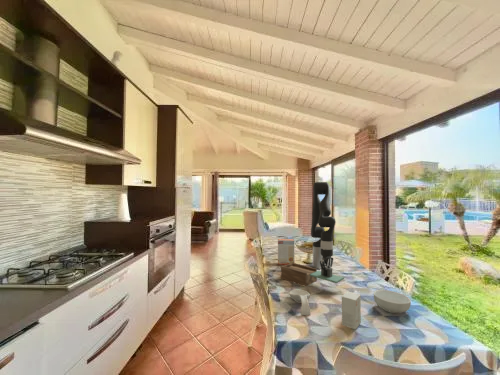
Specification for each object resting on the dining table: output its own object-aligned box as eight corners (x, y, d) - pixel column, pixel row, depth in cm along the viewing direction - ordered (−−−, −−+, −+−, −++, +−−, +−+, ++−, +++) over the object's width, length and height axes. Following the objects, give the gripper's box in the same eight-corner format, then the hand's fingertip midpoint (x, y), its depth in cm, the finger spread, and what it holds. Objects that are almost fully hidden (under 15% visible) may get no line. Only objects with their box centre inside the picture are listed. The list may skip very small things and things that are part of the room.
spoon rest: (287, 295, 141) (287, 283, 141) (307, 295, 141) (307, 283, 141) (294, 316, 117) (294, 301, 118) (318, 316, 117) (318, 301, 118)
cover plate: (318, 272, 161) (318, 263, 162) (344, 279, 149) (344, 269, 149) (309, 275, 154) (309, 266, 154) (336, 283, 141) (336, 273, 142)
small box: (347, 317, 115) (347, 290, 116) (361, 322, 111) (361, 294, 112) (341, 324, 109) (341, 296, 110) (355, 330, 105) (355, 300, 106)
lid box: (292, 273, 178) (292, 262, 179) (316, 281, 164) (316, 268, 164) (281, 278, 169) (281, 266, 169) (305, 286, 154) (305, 273, 154)
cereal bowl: (411, 321, 113) (411, 306, 113) (372, 312, 121) (372, 298, 122) (410, 307, 127) (409, 293, 127) (375, 299, 136) (374, 287, 136)
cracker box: (293, 263, 206) (294, 239, 207) (294, 265, 200) (294, 240, 201) (277, 262, 207) (277, 238, 208) (277, 264, 201) (277, 239, 202)
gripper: (326, 245, 159) (326, 271, 159) (315, 248, 150) (315, 276, 149) (337, 247, 154) (337, 273, 154) (326, 250, 144) (326, 279, 144)
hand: (326, 274), depth 151 cm, fingers closed on cover plate, 3 cm apart
